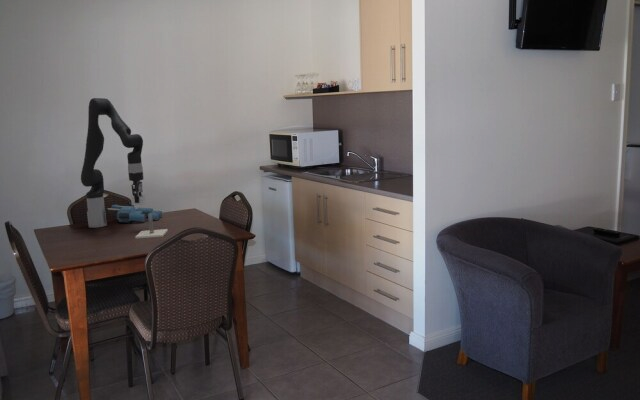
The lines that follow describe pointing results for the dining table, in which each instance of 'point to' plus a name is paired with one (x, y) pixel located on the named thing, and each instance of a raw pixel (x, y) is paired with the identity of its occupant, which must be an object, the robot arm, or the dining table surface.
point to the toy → (134, 213)
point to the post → (151, 231)
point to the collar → (141, 200)
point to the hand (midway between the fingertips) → (138, 201)
